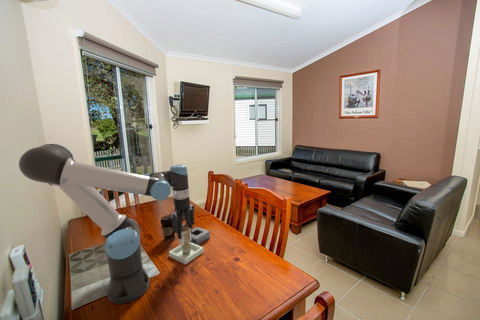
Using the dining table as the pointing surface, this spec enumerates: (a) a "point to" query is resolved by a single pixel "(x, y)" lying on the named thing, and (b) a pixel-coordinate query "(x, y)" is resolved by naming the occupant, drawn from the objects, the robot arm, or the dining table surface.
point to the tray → (186, 258)
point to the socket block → (199, 235)
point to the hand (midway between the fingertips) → (185, 241)
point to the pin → (186, 239)
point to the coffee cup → (167, 228)
